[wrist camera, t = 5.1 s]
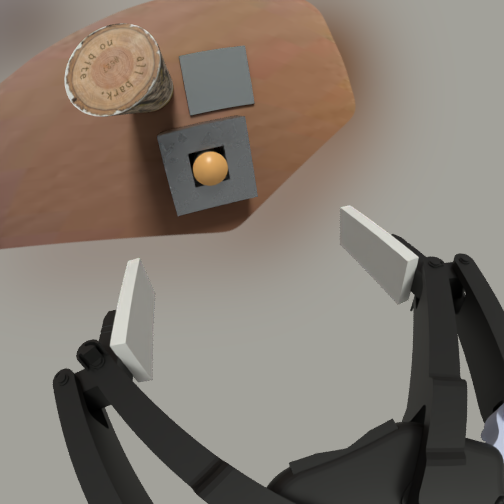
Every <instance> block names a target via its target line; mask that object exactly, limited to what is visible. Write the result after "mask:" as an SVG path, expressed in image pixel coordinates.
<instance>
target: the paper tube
mask: <svg viewBox="0 0 504 504" xmlns="http://www.w3.org/2000/svg"><path fill="white" fill-rule="evenodd" d="M65 89H66V92H67V95H68V97H69V99H70V101H71V102H72V104H73V105H74V106H75V107H76V108H78V109H79V110H80V111H82V112H84V113H86V114H89V115H93V116H114V115H123V114H132V113H143V112H153V111H157V110H159V109H161V108H163V107H164V106H165V105H166V104H167V103H168V102H169V101H170V99H171V97H172V94H173V82H172V79H171V77H170V74H169V72H168V69H167V67H166V64H165V62H164V59H163V57H162V54H161V52H160V49H159V47H158V44H157V43H156V41H155V39H154V38H153V37H152V35H151V34H150V33H149V32H147V31H146V30H145V29H143V28H141V27H139V26H136V25H133V24H125V23H121V24H112V25H109V26H105V27H103V28H100V29H98V30H96V31H95V32H93V33H91V34H90V35H89V36H87V37H86V38H85V39H84V40H83V41H82V42H81V43H80V44H79V45H78V46H77V47H76V49H75V50H74V52H73V53H72V55H71V57H70V59H69V61H68V64H67V67H66V71H65Z"/></svg>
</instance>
